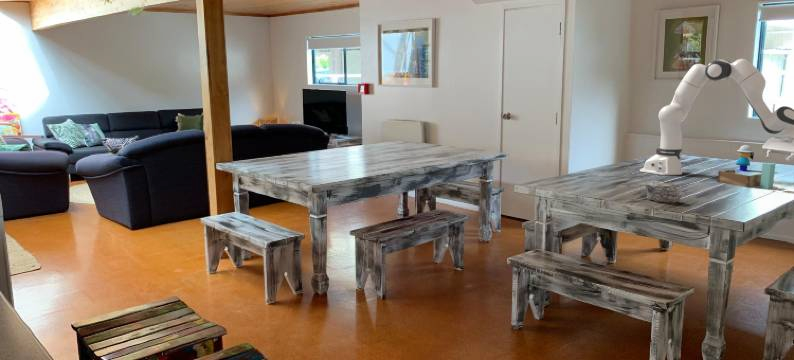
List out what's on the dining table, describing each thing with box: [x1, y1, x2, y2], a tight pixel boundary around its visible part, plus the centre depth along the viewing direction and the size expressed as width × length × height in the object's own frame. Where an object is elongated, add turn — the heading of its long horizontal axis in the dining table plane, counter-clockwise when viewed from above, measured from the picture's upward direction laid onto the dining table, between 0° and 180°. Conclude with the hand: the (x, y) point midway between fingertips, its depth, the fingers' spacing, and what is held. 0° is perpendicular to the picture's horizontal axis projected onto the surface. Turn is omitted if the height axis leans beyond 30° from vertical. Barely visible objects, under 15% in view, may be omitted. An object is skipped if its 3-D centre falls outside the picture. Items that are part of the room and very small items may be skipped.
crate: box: [717, 168, 761, 188], centre depth 321 cm, size 12×16×6 cm
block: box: [760, 162, 776, 188], centre depth 310 cm, size 4×4×12 cm
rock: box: [644, 181, 682, 204], centre depth 284 cm, size 16×8×10 cm, turn 49°
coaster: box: [755, 185, 778, 193], centre depth 311 cm, size 8×9×1 cm
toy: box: [735, 144, 755, 172], centre depth 364 cm, size 8×9×15 cm
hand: (777, 159), depth 311 cm, fingers open, 8 cm apart
